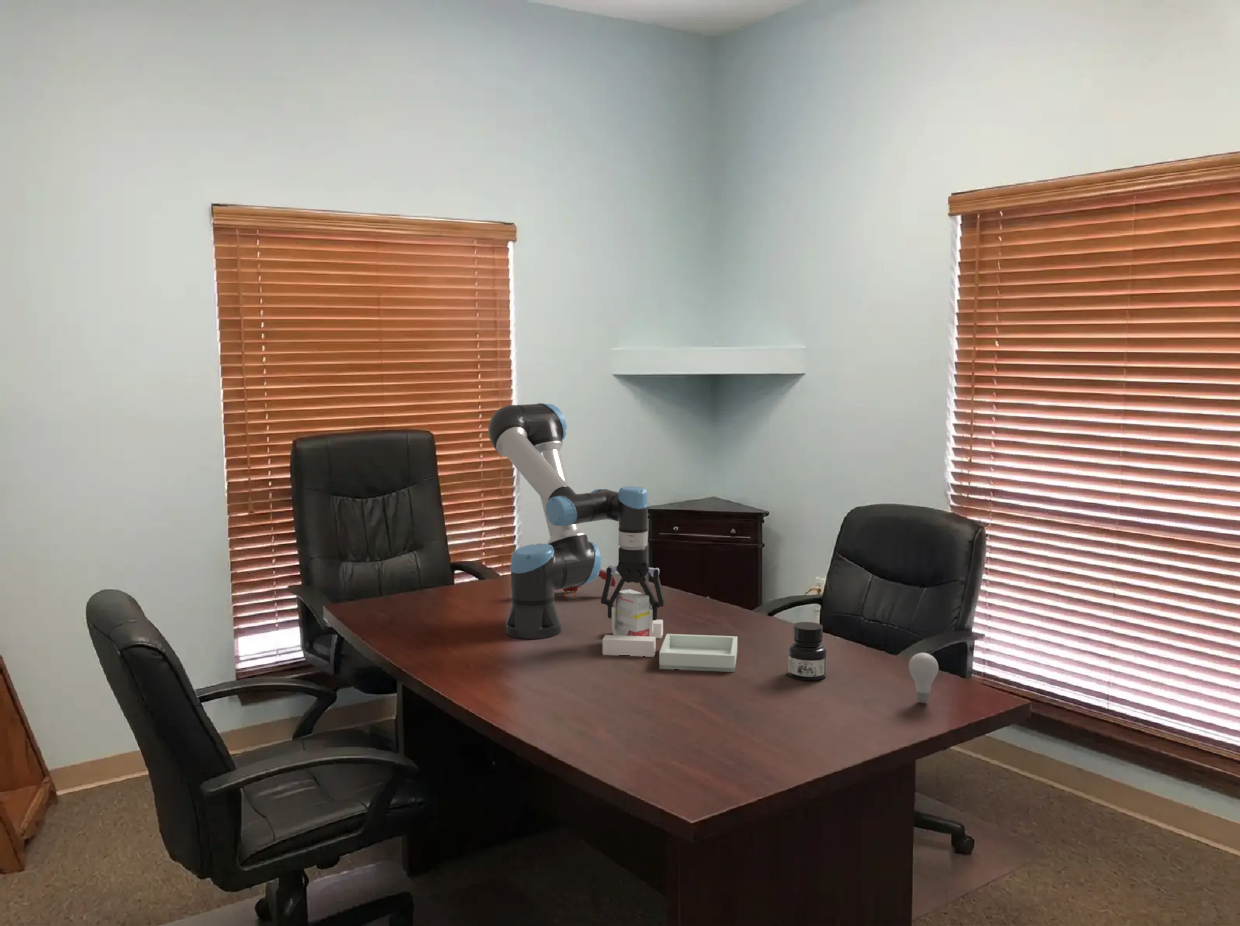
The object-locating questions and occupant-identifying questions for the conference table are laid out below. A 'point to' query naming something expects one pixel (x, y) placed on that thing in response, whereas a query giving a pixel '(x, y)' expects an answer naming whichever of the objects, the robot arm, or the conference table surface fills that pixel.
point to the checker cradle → (633, 643)
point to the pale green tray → (698, 652)
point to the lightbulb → (923, 674)
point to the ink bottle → (807, 652)
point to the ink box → (632, 613)
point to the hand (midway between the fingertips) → (632, 630)
